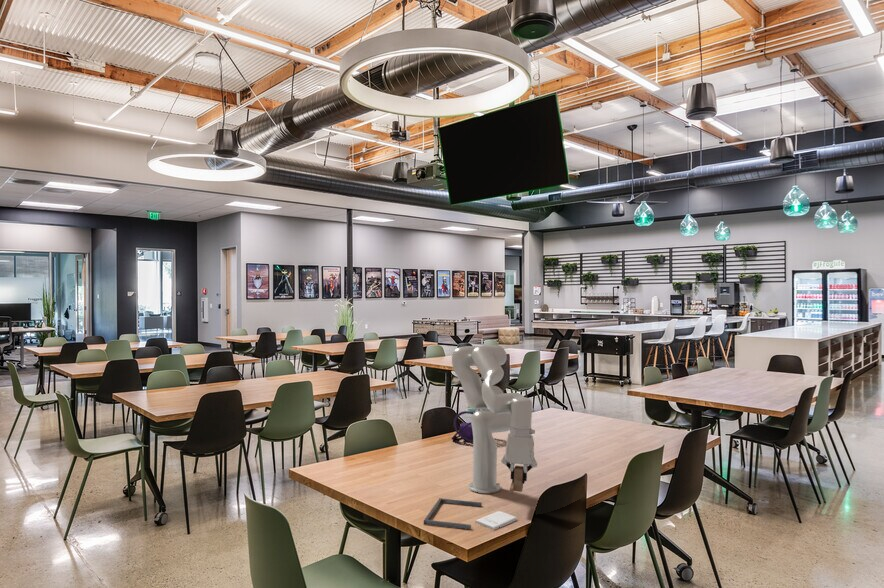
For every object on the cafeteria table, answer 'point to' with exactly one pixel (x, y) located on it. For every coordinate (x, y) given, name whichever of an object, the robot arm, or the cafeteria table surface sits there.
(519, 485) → the pusher
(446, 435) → the cafeteria table surface
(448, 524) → the bay
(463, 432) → the decorative bottle
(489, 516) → the external hard drive
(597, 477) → the cafeteria table surface
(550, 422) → the cafeteria table surface
